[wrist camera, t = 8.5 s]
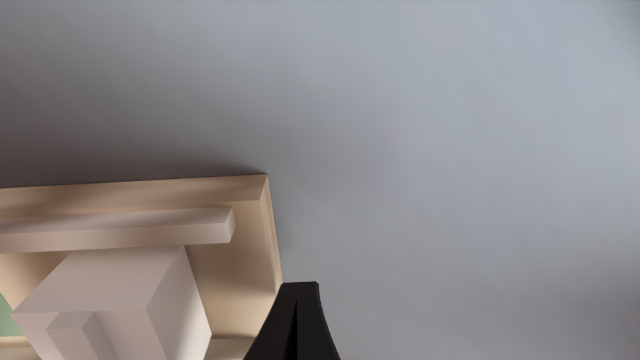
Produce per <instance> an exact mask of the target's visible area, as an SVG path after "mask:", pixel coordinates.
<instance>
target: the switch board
mask: <svg viewBox="0 0 640 360" xmlns="http://www.w3.org/2000/svg"><path fill="white" fill-rule="evenodd" d="M170 245H184V247H185V250H186V253H187V257H188V260H189V263H190V266H191V269H192V273H193V276H194V279H195V282H196V285H197V289H198V292H199V295H200V298H201V301H202V304H203V308H204V311H205V314H206V317H207V320H208V324H209V327H210V330H211V333H212V335H211V338H210V341H209V344H208V347H207V350H206V353H205V356H204V359H203V360H243V358H244V357H245V355H246V353H247V352H248V350H249V348H250V347H251V345H252V343H253V341H254V340H255V338H256V336H257V335H258V333H259V331H260V329H261V327H262V325H263V323H264V321H265V319H266V317H267V316H268V313H269V311H270V309H271V307H272V305H273V303H274V300H275V298H276V296H277V293H278V291H279V288H280V285H281V284H282V283H284V281H283V274H282V268H281V261H280V254H279V248H278V241H277V234H276V227H275V221H274V214H273V207H272V201H271V194H270V187H269V181H268V174H260V175H242V176H223V177H205V178H186V179H168V180H149V181H130V182H112V183H93V184H75V185H56V186H38V187H19V188H1V189H0V360H42V359H41V358H40V356H39V355H38V354H37V352H36V351H35V349H34V348H33V347H32V345H31V344H30V342H29V341H28V339H27V338H26V337H25V335H24V334H23V332H22V331H21V329H20V328H19V327H18V325H17V324H16V322H15V321H14V319H13V318H12V317H11V315H10V313H11V312H12V311H13V310H14V309H15V308H16V307H17V306H18V305H19V304H20V303H21V302H22V301H23V300H24V299H25V298H26V297H27V296H28V295H29V294H30V293H31V292H32V291H33V290H34V289H35V288H36V287H37V286H38V285H39V284H40V283H41V282H42V281H43V280H44V279H45V278H46V277H47V276H48V275H49V274H50V273H51V272H52V271H53V270H54V269H55V268H56V267H57V266H58V265H59V264H60V263H61V262H62V261H63V260H64V259H65V258H66V257H67V256H68V255H69V254H70V253H71V252H72V251H73V250H87V249H108V248H129V247H150V246H170Z"/></svg>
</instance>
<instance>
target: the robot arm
mask: <svg viewBox="0 0 640 360" xmlns="http://www.w3.org/2000/svg"><path fill="white" fill-rule="evenodd" d="M243 360H341V359H340V357H339V355H338V352H337V350H336V347H335V345H334V343H333V340H332V337H331V335H330V332H329V329H328V326H327V323H326V320H325V317H324V313H323V310H322V306H321V301H320V295H319V284H318V283H317V282H316V281H314V282H291V283H282V284H281V285H280V288H279V291H278V293H277V296H276V298H275V300H274V303H273V305H272V307H271V309H270V311H269V313H268V316H267V317H266V319H265V321H264V323H263V325H262V327H261V329H260V331H259V333H258V335H257V336H256V338H255V340H254V341H253V343H252V345H251V347H250V348H249V350H248V352H247V353H246V355H245V357H244V358H243Z"/></svg>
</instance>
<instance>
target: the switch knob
mask: <svg viewBox="0 0 640 360" xmlns="http://www.w3.org/2000/svg"><path fill="white" fill-rule="evenodd" d="M10 315H11V317H12V318H13V319H14V321H15V322H16V324H17V325H18V327H19V328H20V329H21V331H22V332H23V334H24V335H25V337H26V338H27V339H28V341H29V342H30V344H31V345H32V347H33V348H34V349H35V351H36V352H37V354H38V355H39V356H40V358H41V359H42V360H203V359H204V356H205V353H206V350H207V347H208V344H209V341H210V338H211V335H212V333H211V330H210V327H209V324H208V320H207V317H206V314H205V311H204V308H203V304H202V301H201V298H200V295H199V292H198V289H197V285H196V282H195V279H194V276H193V273H192V269H191V266H190V263H189V260H188V257H187V253H186V250H185V247H184V245H170V246H150V247H129V248H108V249H87V250H73V251H72V252H71V253H70V254H69V255H68V256H67V257H66V258H65V259H64V260H63V261H62V262H61V263H60V264H59V265H58V266H57V267H56V268H55V269H54V270H53V271H52V272H51V273H50V274H49V275H48V276H47V277H46V278H45V279H44V280H43V281H42V282H41V283H40V284H39V285H38V286H37V287H36V288H35V289H34V290H33V291H32V292H31V293H30V294H29V295H28V296H27V297H26V298H25V299H24V300H23V301H22V302H21V303H20V304H19V305H18V306H17V307H16V308H15V309H14V310H13V311H12V312H11V313H10Z"/></svg>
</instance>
